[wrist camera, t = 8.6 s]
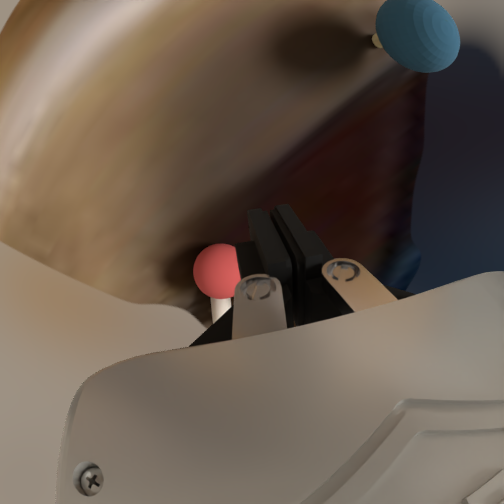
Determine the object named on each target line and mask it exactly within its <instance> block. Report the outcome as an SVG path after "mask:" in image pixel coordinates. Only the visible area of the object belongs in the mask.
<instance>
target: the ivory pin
mask: <svg viewBox="0 0 504 504" xmlns="http://www.w3.org/2000/svg"><path fill="white" fill-rule="evenodd" d="M210 299H211V309H212V318H213V324H214V323H215V322H216V321H217V320H218V319H219V318H220V317H221V316H222V315H223V314H224V313H225V312H226V311H227V310H228V309H229V308H231V299H230V298H227V299H215V298H212V297H210Z"/></svg>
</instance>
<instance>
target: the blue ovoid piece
mask: <svg viewBox="0 0 504 504" xmlns="http://www.w3.org/2000/svg"><path fill="white" fill-rule="evenodd" d="M376 32H377V33H376V34H374V35H373V36H372V41H373V43H374V45H375V46H377V47H378V48H384V49H385V51H386V52H387V53H388V54H389V55H390V56H391V57H392V58H393V59H394V60H395V61H397V62H398V63H399V64H401V65H403V66H404V67H406V68H409V69H411V70H414V71H418V72H426V73H429V72H436V71H440V70H442V69H444V68H446V67H448V66H449V65H450V64H451V63H452V62H453V61H454V60H455V58H456V57H457V54H458V51H459V47H460V37H459V33H458V29H457V26H456V24H455V22H454V21H453V19H452V17H451V16H450V15H449V14H448V12H447V11H446V10H445V9H444V8H443V7H442V6H440V5H439V4H438V3H436V2H435V1H433V0H387V1H385V2H384V4H383V5H382V6H381V7H380V9H379V11H378V13H377V18H376Z"/></svg>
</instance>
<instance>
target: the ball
mask: <svg viewBox="0 0 504 504" xmlns="http://www.w3.org/2000/svg"><path fill="white" fill-rule="evenodd" d="M193 275H194V279H195V282H196V284H197V286H198V288H199V289H200V290H201V291H202V292H203V293H204V294H206V295H207V296H209V297H212V298H215V299H227V298H230V297H233V296H234V291H235V287H236V285H237V283H238V282H239V281H240V280H241V278H240V273H239V268H238V262H237V256H236V250H235V247H233V246H231V245H228V244H214V245H211V246H208V247H207V248H205V249H204V250H203V251H202V252H201V253H200V254H199V255H198V256H197V258H196V260H195V263H194V268H193Z"/></svg>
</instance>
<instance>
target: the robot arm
mask: <svg viewBox="0 0 504 504" xmlns="http://www.w3.org/2000/svg"><path fill="white" fill-rule="evenodd" d="M247 214H248V222H249V230H250V238H251V241H248V242H242V243H237V244H235V250H236V256H237V262H238V268H239V273H240V278H241V280H240V281H239V282H238V283H237V285H236V287H235V291H234V305H233V306H232V307H231V308H229V309H228V310H227V311H226V312H225V313H224V314H223V315H222V316H221V317H220V318H219V319H218V320H217V321H216V322H215V323H214V324H212V325H211V326H210V327H209V328H208V329H207V330H206V331H205V332H204V333H203V334H202V335H201V336H200V337H199V338H197V339H196V340H195V341H194V342H193V343H192V344H191V345H190V346H189V347H185V348H180V349H173V350H167V351H161V352H155V353H150V354H145V355H140V356H136V357H133V358H129V359H126V360H123V361H120V362H117V363H115V364H112V365H110V366H108V367H105V368H103V369H101V370H99V371H98V372H96V373H95V374H93V375H91V376H90V377H88V378H87V379H86V380H85V381H84V382H83V383H82V385H81V386H80V388H79V389H78V390H77V392H76V394H75V396H74V398H73V400H72V402H71V405H70V408H69V411H68V414H67V418H66V422H65V426H64V430H63V435H62V440H61V446H60V452H59V459H58V469H57V482H56V504H504V272H487V273H483V274H479V275H475V276H472V277H469V278H466V279H462V280H459V281H456V282H453V283H450V284H447V285H444V286H441V287H438V288H435V289H432V290H429V291H426V292H423V293H420V294H417V295H416V294H413V293H409V292H406V291H403V290H399V289H396V288H393V287H389V286H386V285H382V284H381V283H380V282H379V281H378V280H377V279H376V278H375V277H374V276H373V275H372V274H371V273H369V272H368V271H367V270H366V269H365V268H364V267H363V266H362V265H361V264H359V263H358V262H356V261H354V260H351V259H345V258H338V259H334V258H333V257H332V255H331V254H330V252H329V251H328V250H327V248H326V247H325V245H324V244H323V243H322V241H321V240H320V238H319V237H318V236H317V234H316V233H315V232H314V231H307V230H306V229H305V227H304V226H303V224H302V223H301V222H300V220H299V219H298V217H297V216H296V214H295V213H294V212H293V210H292V209H291V207H290V206H289V205H288V204H285V205H278V206H275V207H274V210H270V217H269V215H268V213H267V211H262V210H261V208H259V209H253V210H247ZM294 321H295V324H296V326H297V327H294Z"/></svg>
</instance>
